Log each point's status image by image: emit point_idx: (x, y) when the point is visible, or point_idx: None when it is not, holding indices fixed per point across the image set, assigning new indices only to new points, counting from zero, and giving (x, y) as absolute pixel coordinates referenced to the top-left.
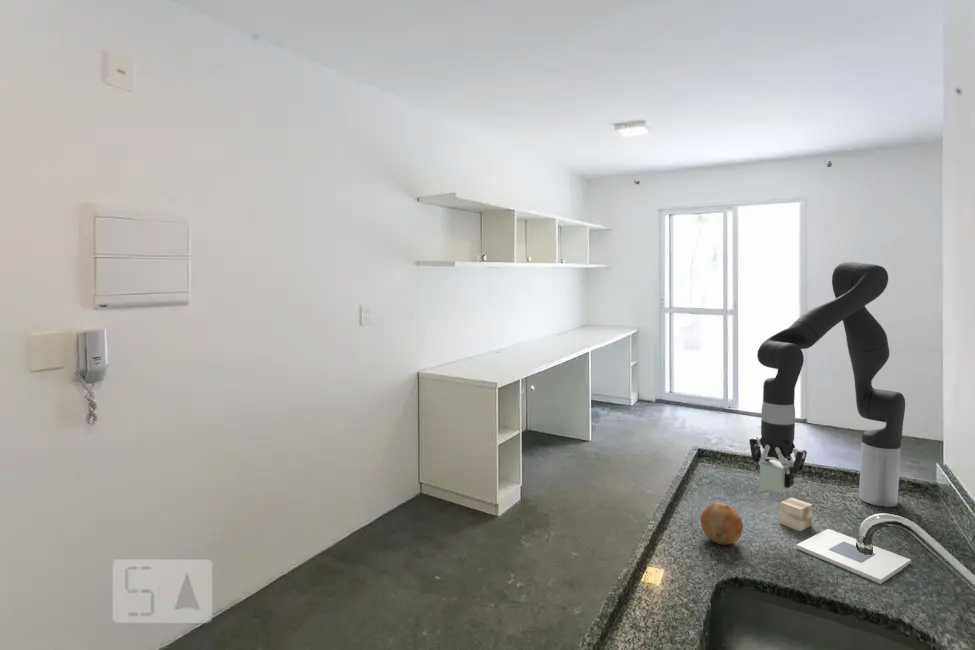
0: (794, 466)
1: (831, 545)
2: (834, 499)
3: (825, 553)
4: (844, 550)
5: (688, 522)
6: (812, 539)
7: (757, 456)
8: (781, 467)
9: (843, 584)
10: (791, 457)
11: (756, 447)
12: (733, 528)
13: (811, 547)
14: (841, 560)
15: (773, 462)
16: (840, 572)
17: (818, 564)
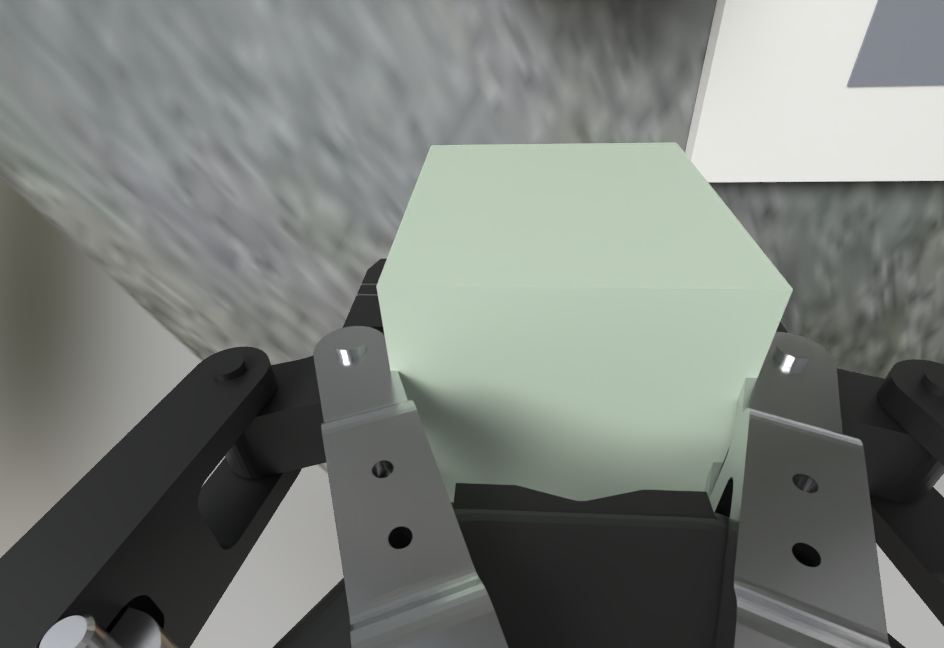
0: (909, 560)
1: (855, 9)
2: None
3: (835, 149)
4: (939, 11)
5: (261, 340)
6: (738, 38)
7: (247, 455)
8: (662, 464)
9: (919, 296)
10: (864, 506)
11: (141, 601)
12: None
13: (757, 145)
14: (921, 151)
15: (482, 389)
16: (905, 218)
17: (805, 231)
